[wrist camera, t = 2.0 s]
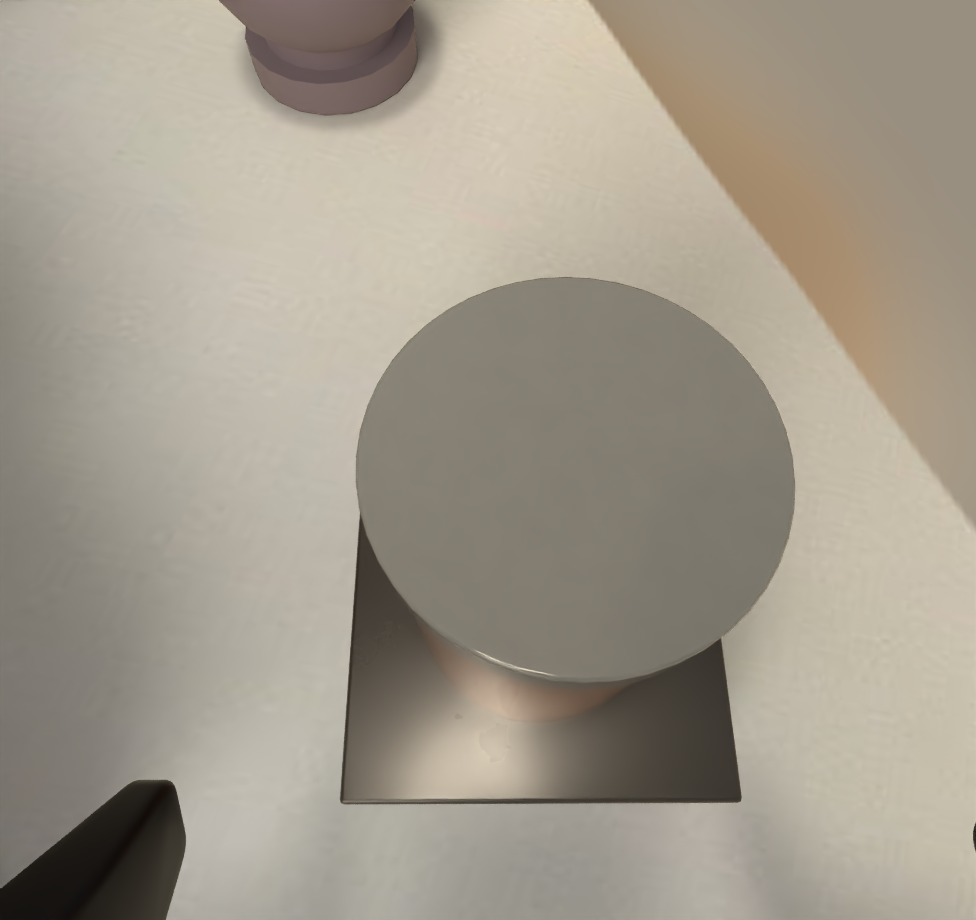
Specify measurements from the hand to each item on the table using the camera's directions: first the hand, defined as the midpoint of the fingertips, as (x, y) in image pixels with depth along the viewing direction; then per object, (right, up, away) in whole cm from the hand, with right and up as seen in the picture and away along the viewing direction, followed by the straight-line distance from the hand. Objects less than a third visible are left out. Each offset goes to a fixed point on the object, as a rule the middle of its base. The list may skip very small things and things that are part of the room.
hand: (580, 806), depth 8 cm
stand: (0, -1, +12) cm, 12 cm away
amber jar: (0, +1, +8) cm, 8 cm away
